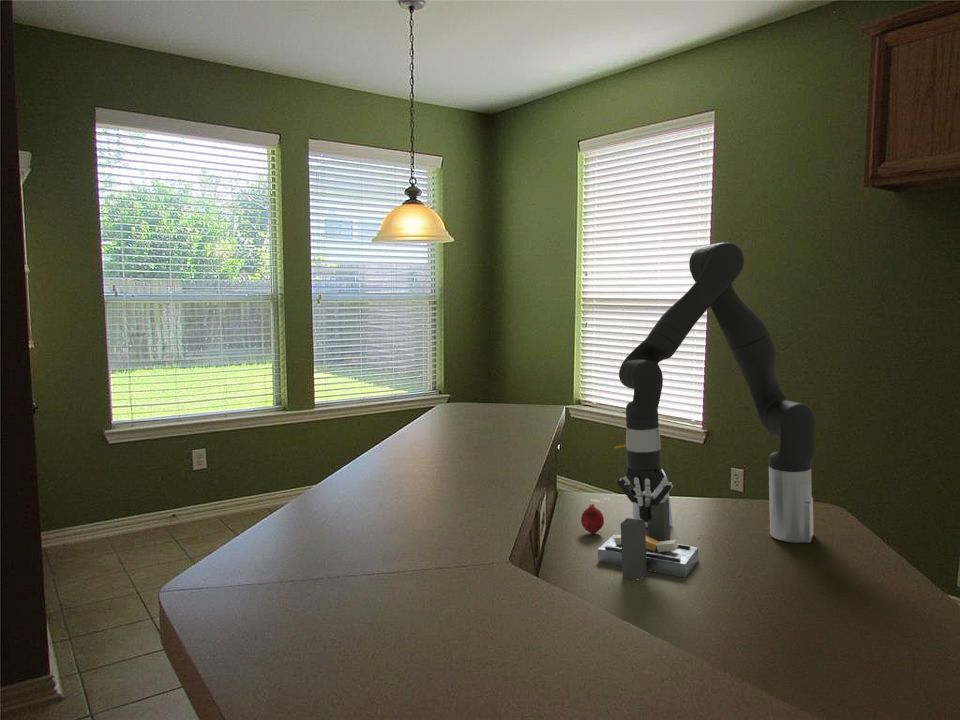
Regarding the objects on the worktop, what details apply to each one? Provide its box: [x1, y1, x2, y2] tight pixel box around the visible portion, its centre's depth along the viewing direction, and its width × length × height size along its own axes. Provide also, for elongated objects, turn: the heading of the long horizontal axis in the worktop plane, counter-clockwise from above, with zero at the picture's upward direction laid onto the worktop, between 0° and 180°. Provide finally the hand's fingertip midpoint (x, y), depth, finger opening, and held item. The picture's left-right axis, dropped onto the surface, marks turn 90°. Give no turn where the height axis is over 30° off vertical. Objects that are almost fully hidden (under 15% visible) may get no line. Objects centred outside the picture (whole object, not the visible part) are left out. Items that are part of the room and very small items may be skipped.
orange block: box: [645, 535, 659, 551], centre depth 146 cm, size 4×2×2 cm, turn 57°
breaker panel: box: [597, 533, 699, 578], centre depth 147 cm, size 20×10×4 cm, turn 57°
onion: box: [580, 503, 605, 535], centre depth 165 cm, size 6×6×8 cm
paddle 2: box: [656, 539, 679, 552], centre depth 144 cm, size 4×2×2 cm, turn 56°
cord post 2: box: [647, 496, 671, 541], centre depth 153 cm, size 4×4×12 cm
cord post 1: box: [620, 517, 648, 581], centre depth 139 cm, size 4×4×12 cm
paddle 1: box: [614, 534, 621, 545], centre depth 150 cm, size 4×2×2 cm, turn 56°
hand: (646, 521), depth 146 cm, fingers closed
